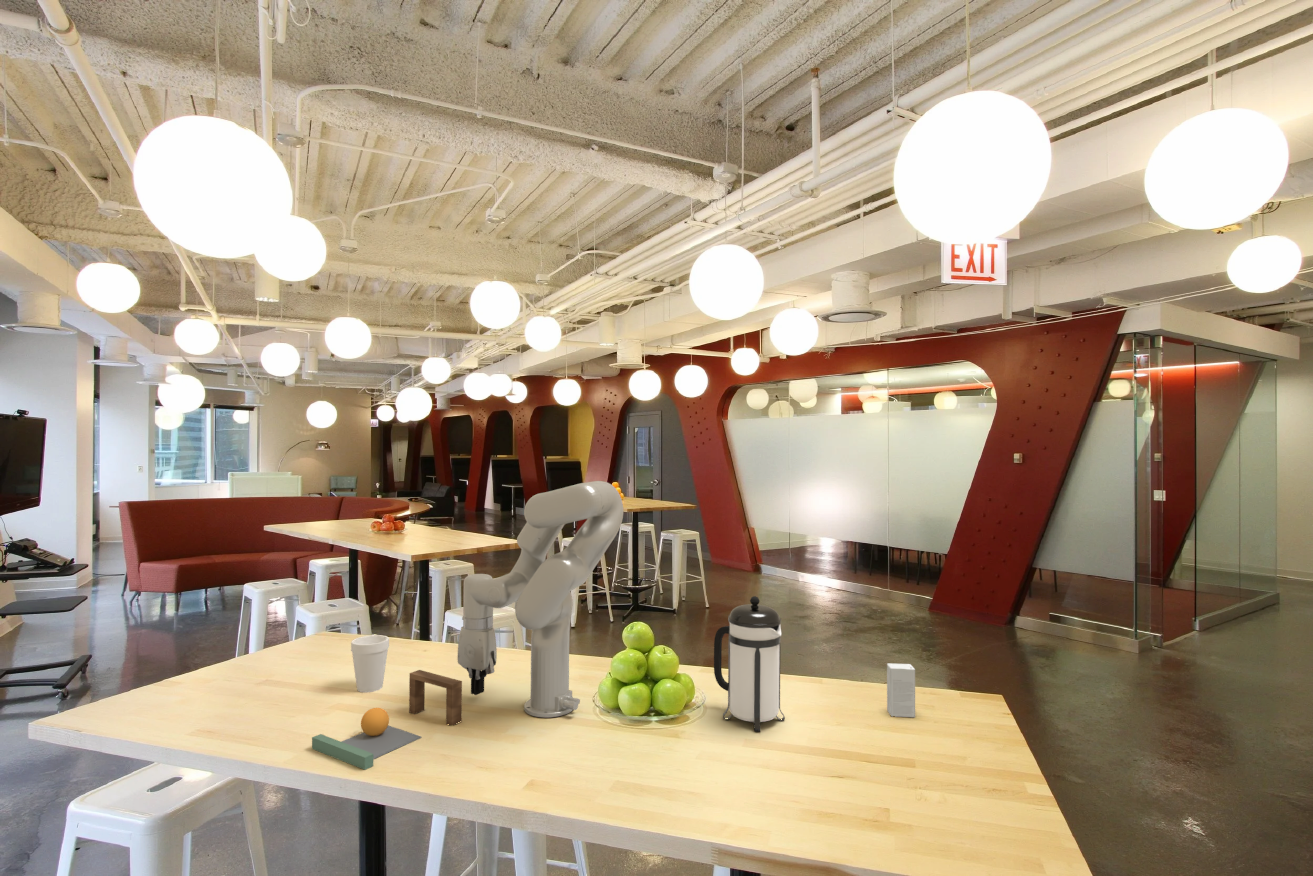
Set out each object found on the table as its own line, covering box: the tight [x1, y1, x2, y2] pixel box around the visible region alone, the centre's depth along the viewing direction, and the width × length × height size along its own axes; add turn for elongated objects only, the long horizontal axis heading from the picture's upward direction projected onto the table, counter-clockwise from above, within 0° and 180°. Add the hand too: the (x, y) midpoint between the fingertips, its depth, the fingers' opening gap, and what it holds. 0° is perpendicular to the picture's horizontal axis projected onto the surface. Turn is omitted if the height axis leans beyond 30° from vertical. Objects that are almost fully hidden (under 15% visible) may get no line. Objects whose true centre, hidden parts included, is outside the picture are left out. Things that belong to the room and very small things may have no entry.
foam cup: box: [350, 634, 390, 693], centre depth 187 cm, size 10×9×13 cm
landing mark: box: [340, 724, 422, 760], centre depth 154 cm, size 13×13×1 cm
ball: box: [360, 707, 390, 736], centre depth 158 cm, size 6×6×6 cm
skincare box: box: [886, 662, 916, 718], centre depth 173 cm, size 6×4×12 cm
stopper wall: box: [311, 733, 374, 771], centre depth 147 cm, size 18×2×2 cm, turn 59°
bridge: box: [408, 669, 463, 726], centre depth 168 cm, size 3×15×10 cm, turn 59°
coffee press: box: [713, 595, 786, 733], centre depth 169 cm, size 17×16×30 cm
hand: (477, 692), depth 180 cm, fingers closed
